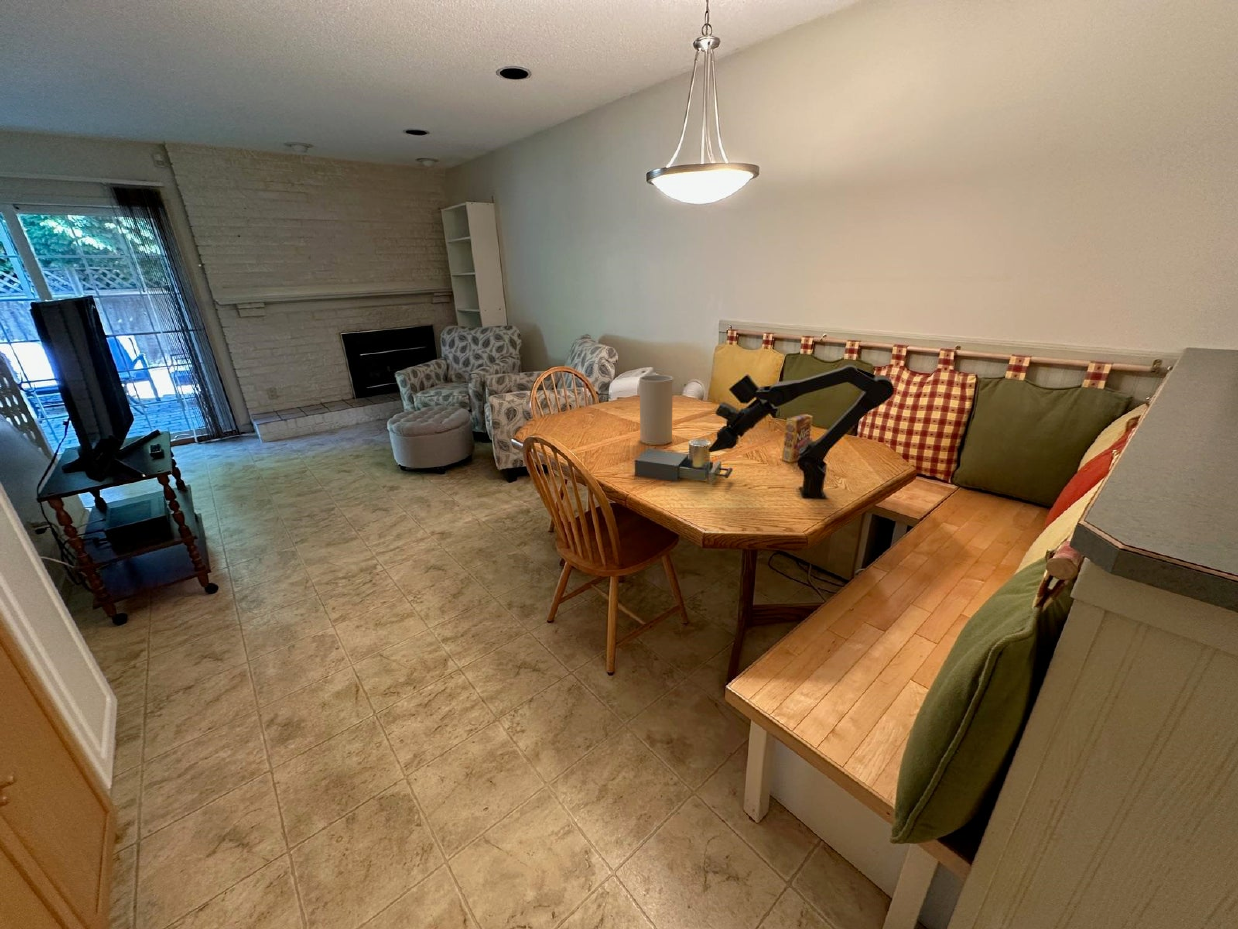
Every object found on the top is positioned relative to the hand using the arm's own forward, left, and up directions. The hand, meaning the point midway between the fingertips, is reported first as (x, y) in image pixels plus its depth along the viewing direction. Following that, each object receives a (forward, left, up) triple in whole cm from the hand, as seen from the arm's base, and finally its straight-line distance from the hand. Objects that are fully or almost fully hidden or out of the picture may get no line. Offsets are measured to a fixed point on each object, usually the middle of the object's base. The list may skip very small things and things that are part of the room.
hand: (712, 446), depth 148 cm
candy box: (+21, -29, -11) cm, 38 cm away
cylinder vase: (+37, +21, -11) cm, 44 cm away
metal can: (+1, +4, -9) cm, 10 cm away
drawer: (+1, +3, -10) cm, 11 cm away
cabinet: (+4, +16, -11) cm, 20 cm away
